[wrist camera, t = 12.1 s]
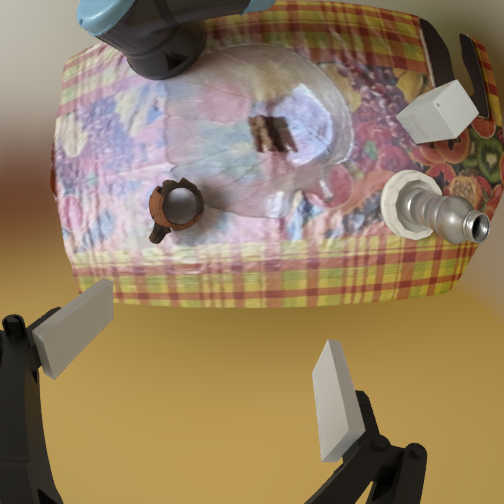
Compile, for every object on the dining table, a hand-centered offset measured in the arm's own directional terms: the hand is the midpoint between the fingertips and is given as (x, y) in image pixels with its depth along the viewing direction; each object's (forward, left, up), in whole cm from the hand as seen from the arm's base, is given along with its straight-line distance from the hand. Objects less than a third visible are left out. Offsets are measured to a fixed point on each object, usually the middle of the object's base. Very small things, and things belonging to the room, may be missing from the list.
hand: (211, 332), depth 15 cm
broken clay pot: (+1, -14, -33) cm, 36 cm away
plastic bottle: (-11, +26, -32) cm, 43 cm away
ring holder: (-11, +26, -33) cm, 43 cm away
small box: (-27, +24, -33) cm, 49 cm away
